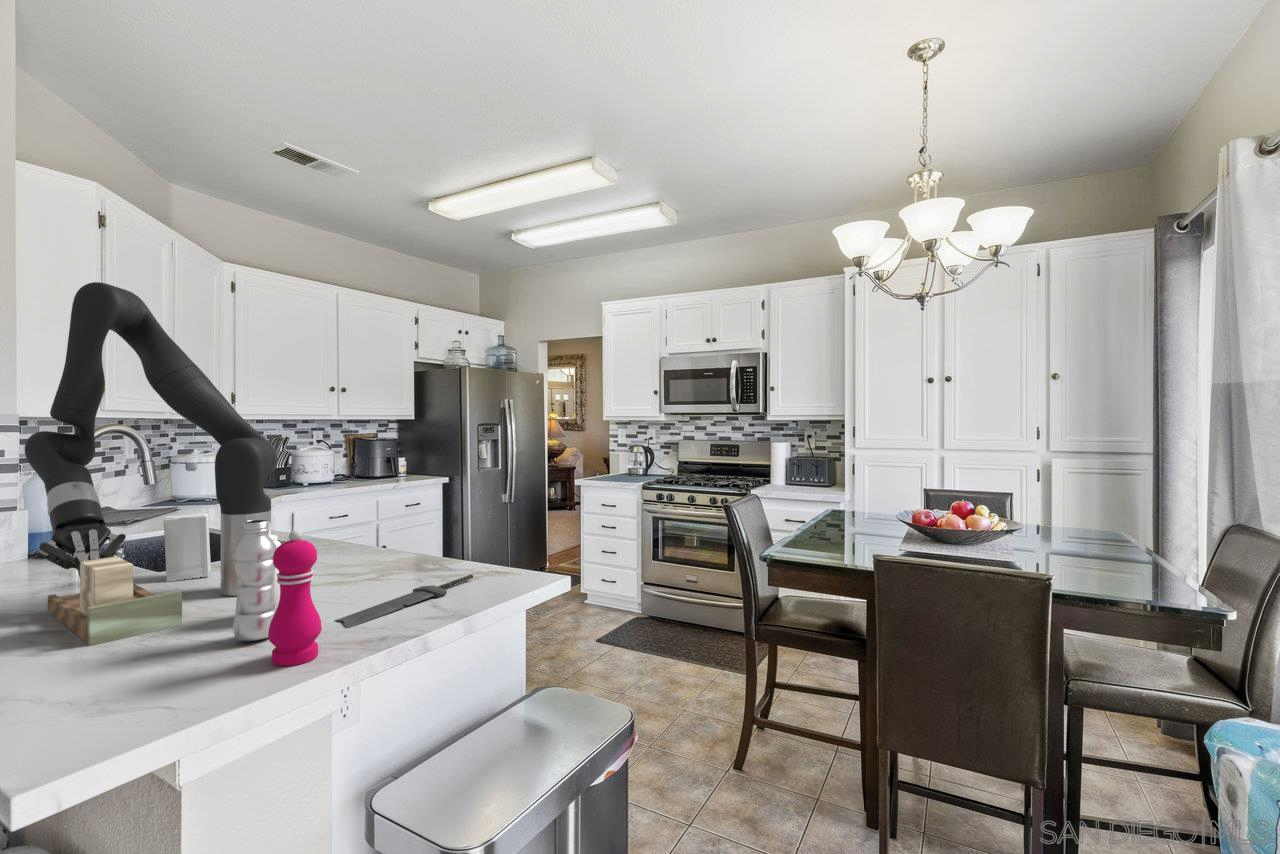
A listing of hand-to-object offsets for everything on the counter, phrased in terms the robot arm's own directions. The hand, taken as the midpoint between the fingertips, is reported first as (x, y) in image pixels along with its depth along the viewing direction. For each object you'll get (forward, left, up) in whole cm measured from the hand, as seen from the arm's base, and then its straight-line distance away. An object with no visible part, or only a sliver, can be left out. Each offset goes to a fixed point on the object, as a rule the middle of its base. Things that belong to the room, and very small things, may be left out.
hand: (92, 581), depth 111 cm
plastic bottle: (-35, +16, -7) cm, 39 cm away
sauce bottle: (-32, +4, -7) cm, 33 cm away
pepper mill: (-45, +26, -7) cm, 52 cm away
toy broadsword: (-56, -4, -8) cm, 57 cm away
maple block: (-7, +7, -4) cm, 11 cm away
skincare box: (0, -30, -7) cm, 31 cm away
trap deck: (-3, 0, -7) cm, 8 cm away
